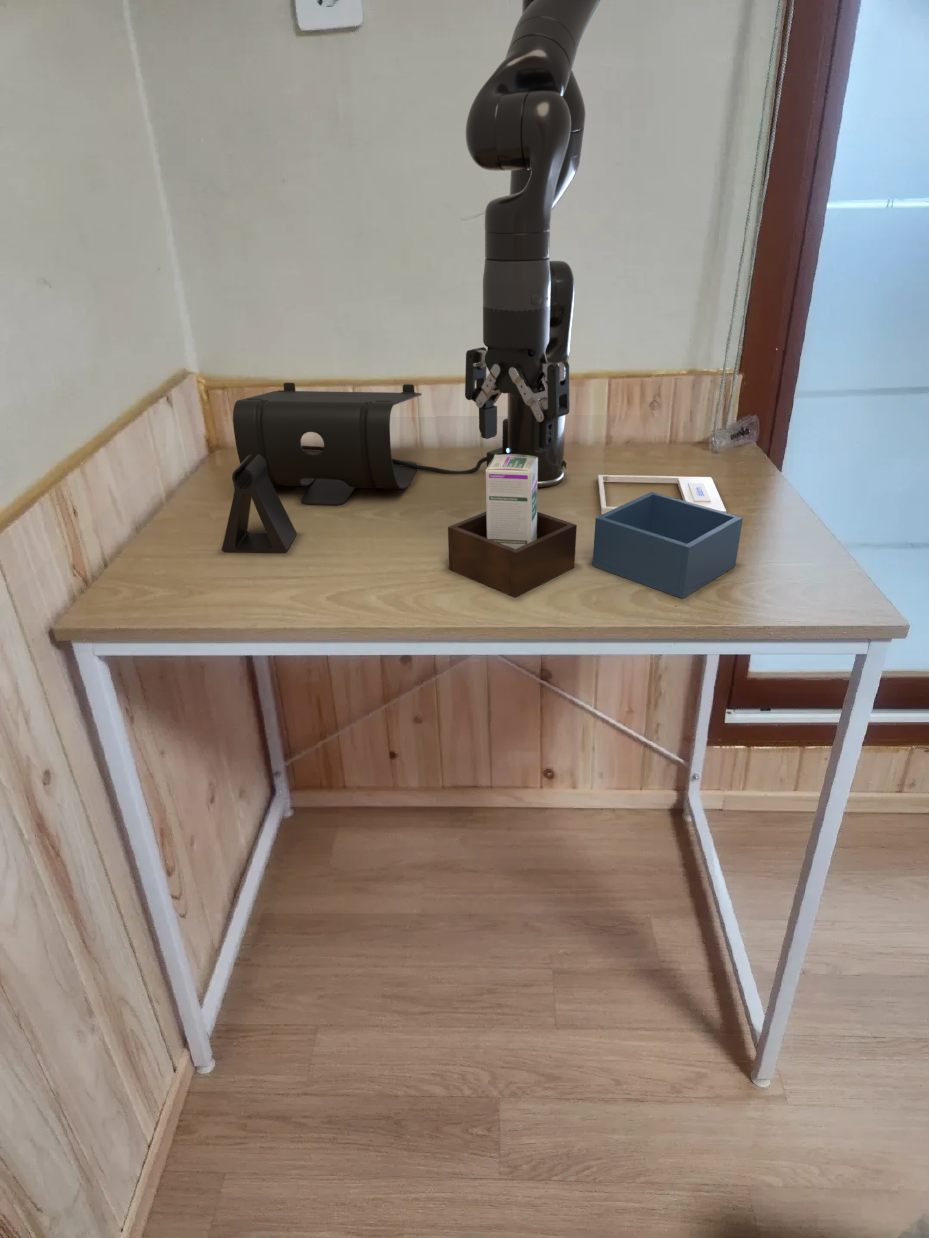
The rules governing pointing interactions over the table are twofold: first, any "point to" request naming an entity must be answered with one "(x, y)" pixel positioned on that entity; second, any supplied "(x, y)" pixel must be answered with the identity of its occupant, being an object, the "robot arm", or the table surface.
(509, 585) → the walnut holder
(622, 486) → the table surface
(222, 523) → the table surface
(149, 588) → the table surface
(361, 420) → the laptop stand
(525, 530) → the syrup box
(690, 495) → the photo frame
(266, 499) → the phone stand
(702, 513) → the blue tote
